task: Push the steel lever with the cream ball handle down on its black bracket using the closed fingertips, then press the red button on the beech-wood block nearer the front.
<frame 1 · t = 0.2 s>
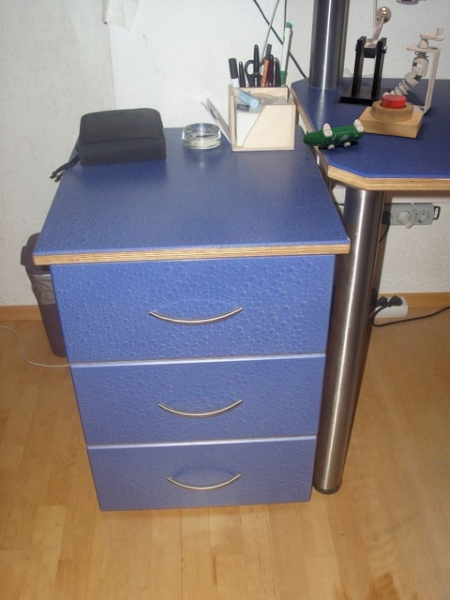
button block: (389, 127, 105), on the table
green toy race car: (328, 145, 99), on the table
button: (393, 102, 103), point 4 cm above the table, slide at 0.1 cm
clamp: (406, 110, 115), on the table
bracket: (364, 98, 122), on the table
lever: (377, 31, 119), point 12 cm above the table, hinge at 25.0°
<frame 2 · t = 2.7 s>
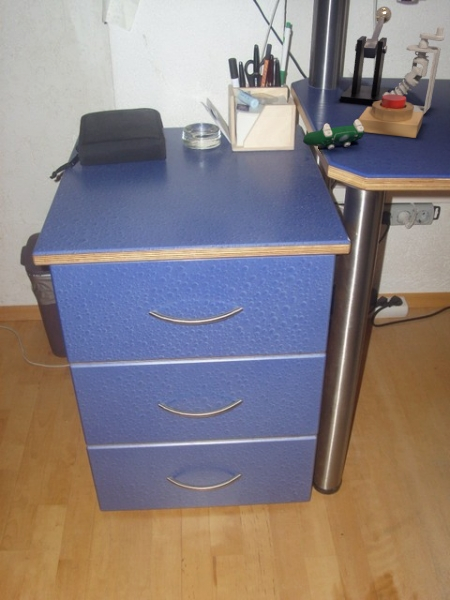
nothing on the table moved.
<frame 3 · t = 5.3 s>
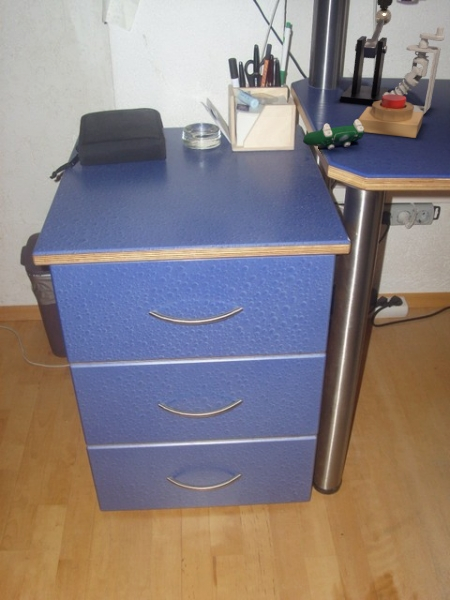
hand: (384, 8, 121), 15 cm above the table, tool pointing down, fingers closed
lever: (377, 32, 119), point 12 cm above the table, hinge at 23.1°, touching gripper
everything else where it was.
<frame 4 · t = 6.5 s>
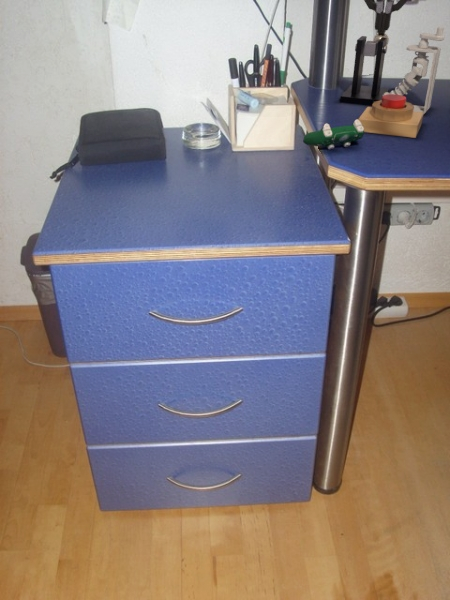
hand: (381, 32, 124), 11 cm above the table, tool pointing down, fingers closed
lever: (376, 44, 121), point 9 cm above the table, hinge at -2.1°, touching gripper
everything else where it was.
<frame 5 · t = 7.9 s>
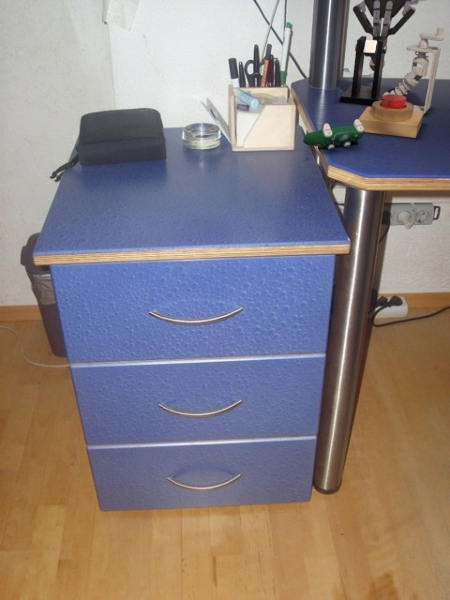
hand: (378, 55, 126), 6 cm above the table, tool pointing down, fingers closed
lever: (374, 56, 122), point 7 cm above the table, hinge at -25.5°, touching gripper
everything else where it was.
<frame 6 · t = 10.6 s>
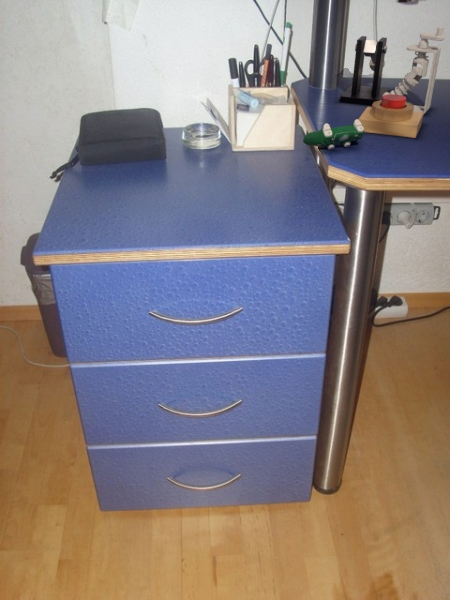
hand: (403, 1, 102), 19 cm above the table, tool pointing down, fingers closed
lever: (374, 56, 122), point 7 cm above the table, hinge at -25.5°
everything else where it was.
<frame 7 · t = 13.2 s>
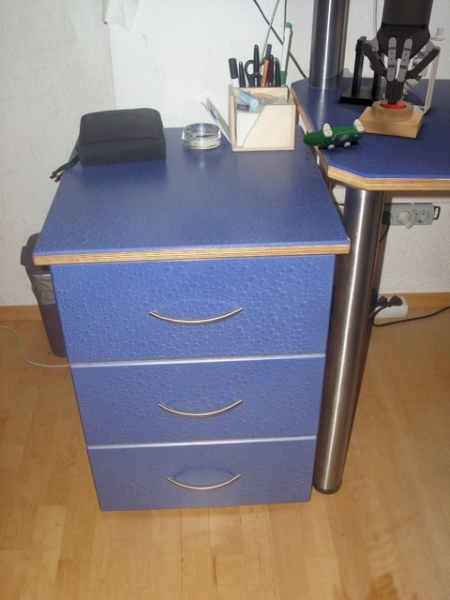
hand: (392, 102, 103), 4 cm above the table, tool pointing down, fingers closed
button: (392, 107, 103), point 4 cm above the table, slide at -0.8 cm, touching gripper
everything else where it was.
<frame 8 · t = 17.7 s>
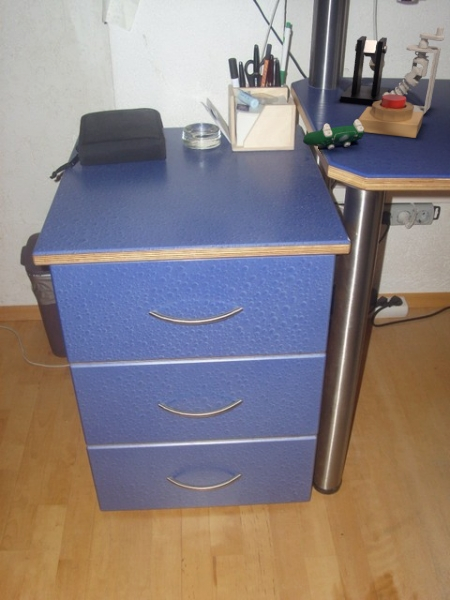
button: (393, 102, 103), point 4 cm above the table, slide at 0.1 cm
everything else where it was.
at the end: lever at -26° (first picture: +25°); button pushed in 1.1 cm at the most during the clip, back to where it started at the end; button slide at 0.1 cm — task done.
